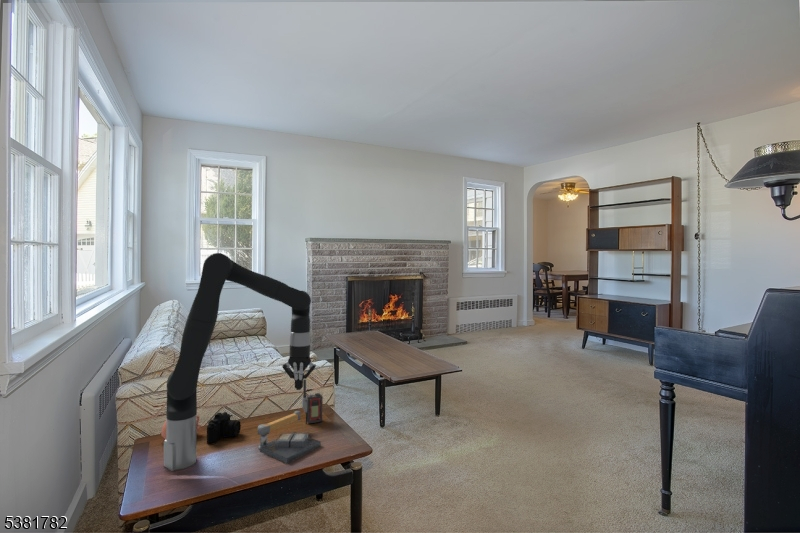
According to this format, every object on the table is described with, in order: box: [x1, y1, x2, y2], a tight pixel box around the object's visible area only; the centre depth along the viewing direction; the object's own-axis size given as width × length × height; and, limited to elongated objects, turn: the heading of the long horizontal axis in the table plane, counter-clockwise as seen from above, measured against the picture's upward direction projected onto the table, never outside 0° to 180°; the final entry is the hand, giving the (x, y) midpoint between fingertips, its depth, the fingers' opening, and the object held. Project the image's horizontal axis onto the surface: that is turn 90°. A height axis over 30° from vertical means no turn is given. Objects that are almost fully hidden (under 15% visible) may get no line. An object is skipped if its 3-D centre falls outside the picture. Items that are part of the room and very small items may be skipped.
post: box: [257, 434, 268, 450], centre depth 151 cm, size 4×4×5 cm
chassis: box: [259, 431, 322, 464], centre depth 150 cm, size 16×15×4 cm
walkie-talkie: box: [301, 379, 324, 425], centre depth 173 cm, size 9×4×20 cm, turn 113°
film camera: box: [206, 411, 242, 445], centre depth 160 cm, size 15×10×9 cm, turn 177°
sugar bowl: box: [160, 414, 202, 440], centre depth 160 cm, size 12×14×10 cm
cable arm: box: [257, 410, 301, 436], centre depth 157 cm, size 20×4×3 cm, turn 146°
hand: (298, 389), depth 151 cm, fingers closed
